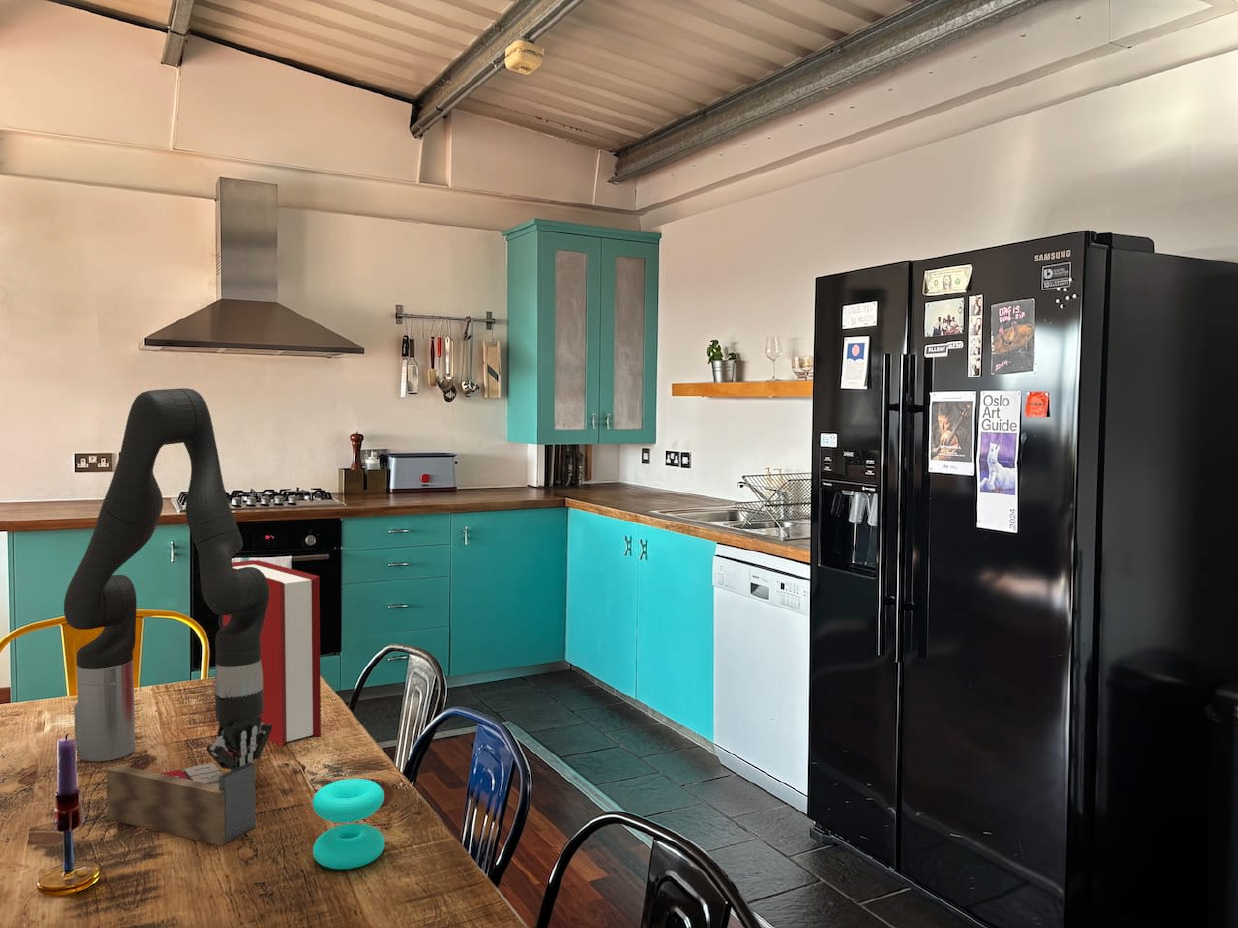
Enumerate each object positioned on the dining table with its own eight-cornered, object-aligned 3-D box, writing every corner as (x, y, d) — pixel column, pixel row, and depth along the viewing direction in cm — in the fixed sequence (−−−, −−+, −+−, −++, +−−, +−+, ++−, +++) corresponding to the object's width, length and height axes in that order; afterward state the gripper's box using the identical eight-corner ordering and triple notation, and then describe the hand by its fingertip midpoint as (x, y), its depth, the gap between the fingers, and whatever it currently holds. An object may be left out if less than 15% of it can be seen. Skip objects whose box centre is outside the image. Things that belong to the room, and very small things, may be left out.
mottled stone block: (107, 818, 148) (105, 768, 148) (144, 801, 155) (143, 753, 154) (220, 845, 139) (219, 793, 139) (255, 826, 146) (254, 776, 145)
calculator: (215, 759, 164) (237, 783, 152) (216, 784, 165) (238, 810, 152) (146, 773, 158) (163, 799, 146) (146, 799, 158) (164, 827, 146)
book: (321, 736, 186) (319, 576, 184) (282, 747, 180) (280, 581, 178) (258, 705, 205) (256, 559, 203) (221, 713, 199) (219, 563, 197)
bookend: (220, 841, 141) (218, 776, 140) (249, 825, 146) (248, 762, 146) (226, 843, 140) (225, 777, 140) (255, 826, 146) (254, 763, 145)
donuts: (347, 809, 129) (297, 793, 134) (348, 879, 130) (298, 861, 135) (398, 784, 138) (349, 770, 143) (399, 850, 139) (350, 834, 144)
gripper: (250, 674, 165) (252, 771, 166) (190, 696, 153) (193, 800, 154) (284, 679, 162) (286, 778, 163) (226, 702, 150) (229, 808, 151)
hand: (241, 788), depth 158 cm, fingers closed
